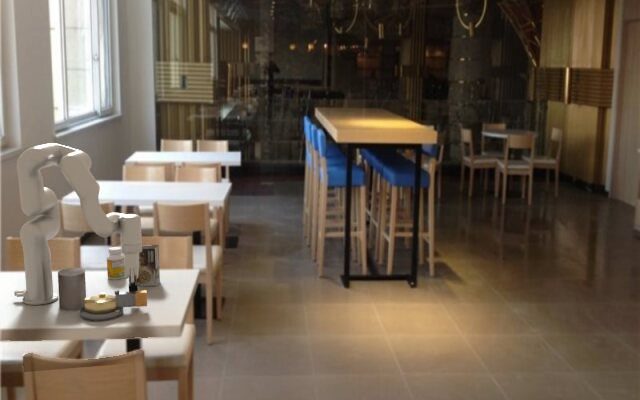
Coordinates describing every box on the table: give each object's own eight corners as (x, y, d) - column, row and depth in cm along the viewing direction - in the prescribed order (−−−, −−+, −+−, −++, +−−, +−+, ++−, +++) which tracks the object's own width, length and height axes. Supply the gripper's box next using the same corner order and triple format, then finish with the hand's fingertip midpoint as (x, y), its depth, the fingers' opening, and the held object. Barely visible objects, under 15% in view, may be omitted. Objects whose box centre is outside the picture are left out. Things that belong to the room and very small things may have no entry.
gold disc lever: (82, 314, 251) (82, 298, 250) (85, 303, 262) (85, 288, 261) (147, 310, 256) (146, 294, 255) (147, 300, 267) (146, 284, 266)
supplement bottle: (107, 275, 305) (106, 246, 303) (124, 274, 307) (123, 245, 305) (107, 280, 299) (106, 250, 296) (125, 279, 301) (124, 249, 298)
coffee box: (160, 281, 298) (159, 244, 295) (156, 286, 291) (155, 248, 288) (138, 281, 298) (137, 244, 295) (134, 286, 291) (133, 248, 288)
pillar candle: (56, 305, 267) (53, 267, 264) (81, 300, 273) (79, 262, 270) (64, 312, 260) (62, 273, 257) (90, 307, 266) (88, 269, 263)
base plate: (78, 322, 249) (78, 316, 249) (82, 308, 264) (81, 302, 263) (122, 319, 253) (122, 313, 252) (124, 306, 267) (123, 299, 267)
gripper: (121, 243, 271) (123, 289, 275) (120, 253, 257) (122, 301, 261) (142, 242, 273) (143, 288, 277) (141, 252, 259) (143, 300, 262)
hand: (133, 294), depth 269 cm, fingers closed
